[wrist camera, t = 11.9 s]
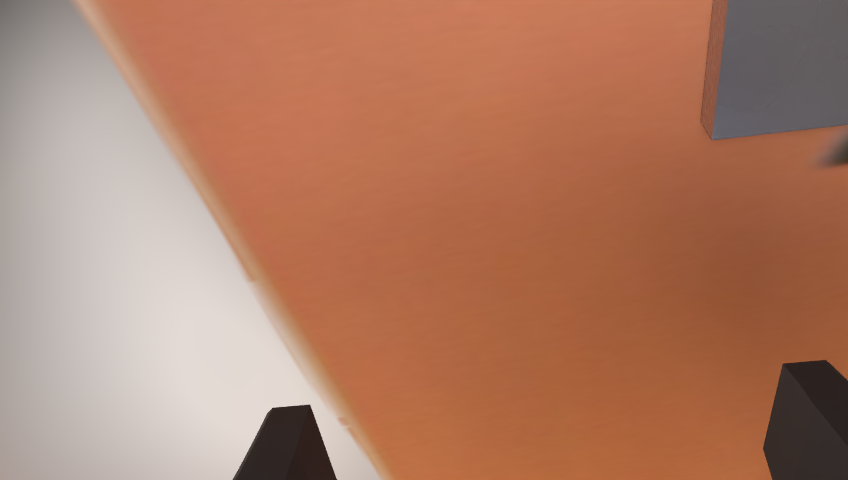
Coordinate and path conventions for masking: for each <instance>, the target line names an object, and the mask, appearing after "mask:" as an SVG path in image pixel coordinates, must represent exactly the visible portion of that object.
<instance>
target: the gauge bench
mask: <svg viewBox="0 0 848 480" xmlns="http://www.w3.org/2000/svg"><path fill="white" fill-rule="evenodd" d="M701 123H702V125H703V127H704V128H705V130H706V132H707V133H708V135H709V136H710V138H711V140H718V139H727V138H736V137H745V136H754V135H762V134H771V133H780V132H789V131H798V130H806V129H815V128H824V127H833V126H842V125H848V0H713V7H712V17H711V26H710V36H709V45H708V55H707V65H706V74H705V84H704V93H703V103H702V113H701Z"/></svg>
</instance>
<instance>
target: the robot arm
mask: <svg viewBox="0 0 848 480" xmlns="http://www.w3.org/2000/svg"><path fill="white" fill-rule="evenodd" d="M763 450H764V453H765V456H766V460H767V463H768V466H769V469H770V473H771V476H772V479H773V480H848V380H847V379H846V378H845V377H843V376H842V375H841V374H840V373H839V372H838V371H837V370H836V369H835V368H834V367H833V366H832V365H831V364H830V363H829V362H827V361H826V360H821V361H809V362H797V363H786V364H783V366H782V370H781V374H780V378H779V383H778V387H777V391H776V395H775V400H774V404H773V408H772V413H771V417H770V421H769V425H768V430H767V434H766V438H765V442H764V447H763ZM233 480H337V479H336V476H335V474H334V471H333V468H332V465H331V462H330V460H329V457H328V454H327V451H326V448H325V445H324V442H323V440H322V437H321V434H320V431H319V428H318V426H317V423H316V420H315V417H314V414H313V412H312V409H311V406H310V405H300V406H289V407H277V408H272V409H271V410H270V411H269V412H268V413H267V415H266V417H265V419H264V421H263V423H262V425H261V427H260V429H259V431H258V433H257V435H256V437H255V439H254V441H253V443H252V445H251V447H250V449H249V451H248V452H247V454H246V456H245V458H244V460H243V462H242V464H241V466H240V468H239V469H238V471H237V473H236V475H235V477H234V478H233Z"/></svg>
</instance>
